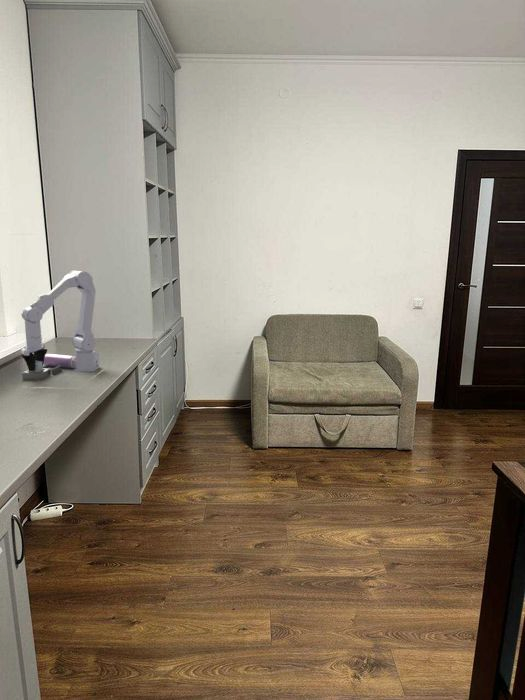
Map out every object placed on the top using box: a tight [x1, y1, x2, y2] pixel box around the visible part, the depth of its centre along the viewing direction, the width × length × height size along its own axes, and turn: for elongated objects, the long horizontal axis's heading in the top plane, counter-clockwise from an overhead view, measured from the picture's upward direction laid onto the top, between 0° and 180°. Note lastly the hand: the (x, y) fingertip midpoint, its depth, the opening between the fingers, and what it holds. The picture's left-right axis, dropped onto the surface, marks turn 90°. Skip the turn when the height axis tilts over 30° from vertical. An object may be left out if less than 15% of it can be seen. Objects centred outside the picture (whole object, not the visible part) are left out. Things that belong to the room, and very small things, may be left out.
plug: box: [27, 361, 44, 373], centre depth 200 cm, size 4×4×7 cm
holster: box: [43, 365, 62, 376], centre depth 209 cm, size 7×7×3 cm
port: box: [21, 367, 52, 381], centre depth 201 cm, size 8×8×4 cm
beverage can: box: [43, 353, 76, 370], centre depth 218 cm, size 6×6×15 cm
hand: (36, 368), depth 200 cm, fingers open, 6 cm apart
